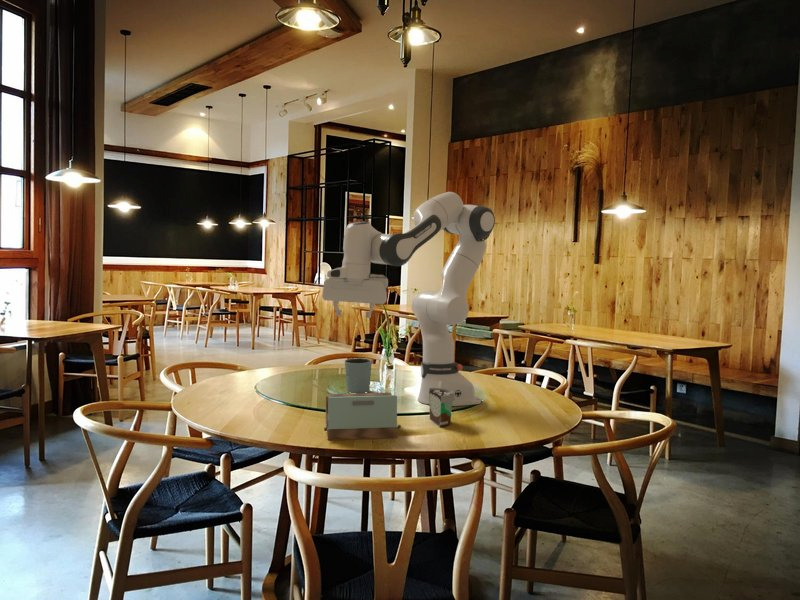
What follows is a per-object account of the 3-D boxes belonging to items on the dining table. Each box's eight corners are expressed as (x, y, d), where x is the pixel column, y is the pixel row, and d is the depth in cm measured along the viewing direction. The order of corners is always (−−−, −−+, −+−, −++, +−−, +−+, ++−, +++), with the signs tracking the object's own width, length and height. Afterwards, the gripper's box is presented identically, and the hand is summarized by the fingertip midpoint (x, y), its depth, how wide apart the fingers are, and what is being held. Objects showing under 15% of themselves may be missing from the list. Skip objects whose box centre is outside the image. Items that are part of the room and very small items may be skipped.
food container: (460, 427, 201) (460, 395, 200) (441, 428, 199) (441, 396, 198) (446, 417, 213) (446, 386, 212) (428, 418, 211) (428, 387, 210)
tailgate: (396, 426, 190) (396, 395, 190) (397, 427, 188) (397, 396, 188) (328, 428, 187) (328, 396, 187) (328, 429, 185) (328, 397, 185)
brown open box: (393, 424, 204) (393, 392, 203) (400, 438, 189) (401, 404, 188) (322, 426, 200) (322, 394, 199) (324, 440, 186) (324, 406, 185)
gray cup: (373, 389, 251) (373, 358, 250) (369, 395, 241) (369, 363, 240) (347, 388, 252) (347, 357, 251) (342, 394, 242) (342, 362, 241)
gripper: (389, 274, 209) (387, 317, 210) (326, 270, 210) (324, 313, 211) (387, 275, 202) (384, 319, 203) (322, 271, 204) (320, 315, 205)
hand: (353, 316), depth 207 cm, fingers open, 8 cm apart
